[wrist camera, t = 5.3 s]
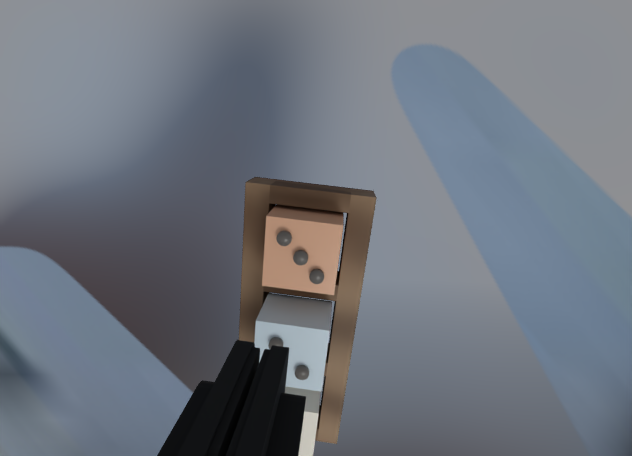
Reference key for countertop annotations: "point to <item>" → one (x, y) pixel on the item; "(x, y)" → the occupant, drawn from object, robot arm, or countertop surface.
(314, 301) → the tile two pip
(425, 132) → the countertop surface
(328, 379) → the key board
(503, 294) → the countertop surface
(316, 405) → the tile one pip
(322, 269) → the tile three pip
